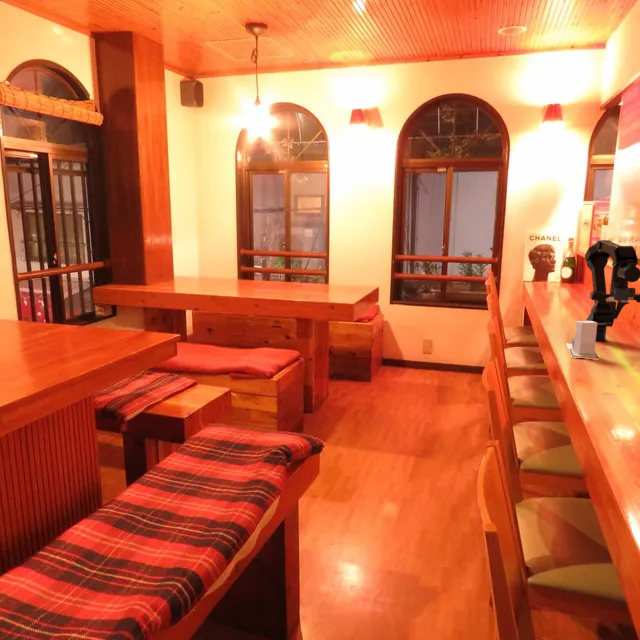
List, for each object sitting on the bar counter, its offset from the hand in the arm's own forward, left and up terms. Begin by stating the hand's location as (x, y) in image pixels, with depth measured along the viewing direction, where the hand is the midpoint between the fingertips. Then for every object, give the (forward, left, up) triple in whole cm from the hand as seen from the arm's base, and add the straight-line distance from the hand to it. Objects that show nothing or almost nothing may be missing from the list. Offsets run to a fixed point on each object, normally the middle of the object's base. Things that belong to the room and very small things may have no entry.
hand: (615, 318), depth 211 cm
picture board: (+10, -12, -12) cm, 20 cm away
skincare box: (+15, -12, -11) cm, 22 cm away
